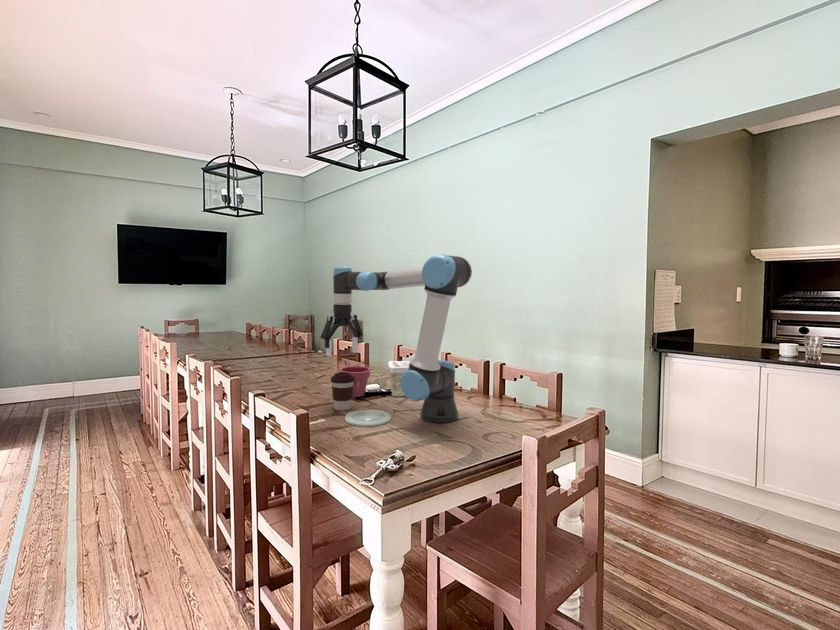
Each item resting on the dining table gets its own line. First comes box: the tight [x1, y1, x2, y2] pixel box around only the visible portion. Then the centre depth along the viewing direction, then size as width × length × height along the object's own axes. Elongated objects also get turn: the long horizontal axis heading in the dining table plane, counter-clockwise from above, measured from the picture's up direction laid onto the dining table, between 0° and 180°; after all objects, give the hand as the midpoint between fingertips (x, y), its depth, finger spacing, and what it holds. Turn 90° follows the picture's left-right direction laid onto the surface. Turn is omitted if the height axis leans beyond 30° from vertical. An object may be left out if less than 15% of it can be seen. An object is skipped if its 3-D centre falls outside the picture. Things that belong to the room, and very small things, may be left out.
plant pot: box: [339, 365, 371, 399], centre depth 210 cm, size 14×14×13 cm
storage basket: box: [387, 360, 410, 398], centre depth 217 cm, size 24×16×15 cm
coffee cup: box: [330, 371, 354, 412], centre depth 189 cm, size 10×10×15 cm
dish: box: [344, 409, 392, 428], centre depth 175 cm, size 18×18×1 cm
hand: (342, 354), depth 188 cm, fingers open, 13 cm apart
